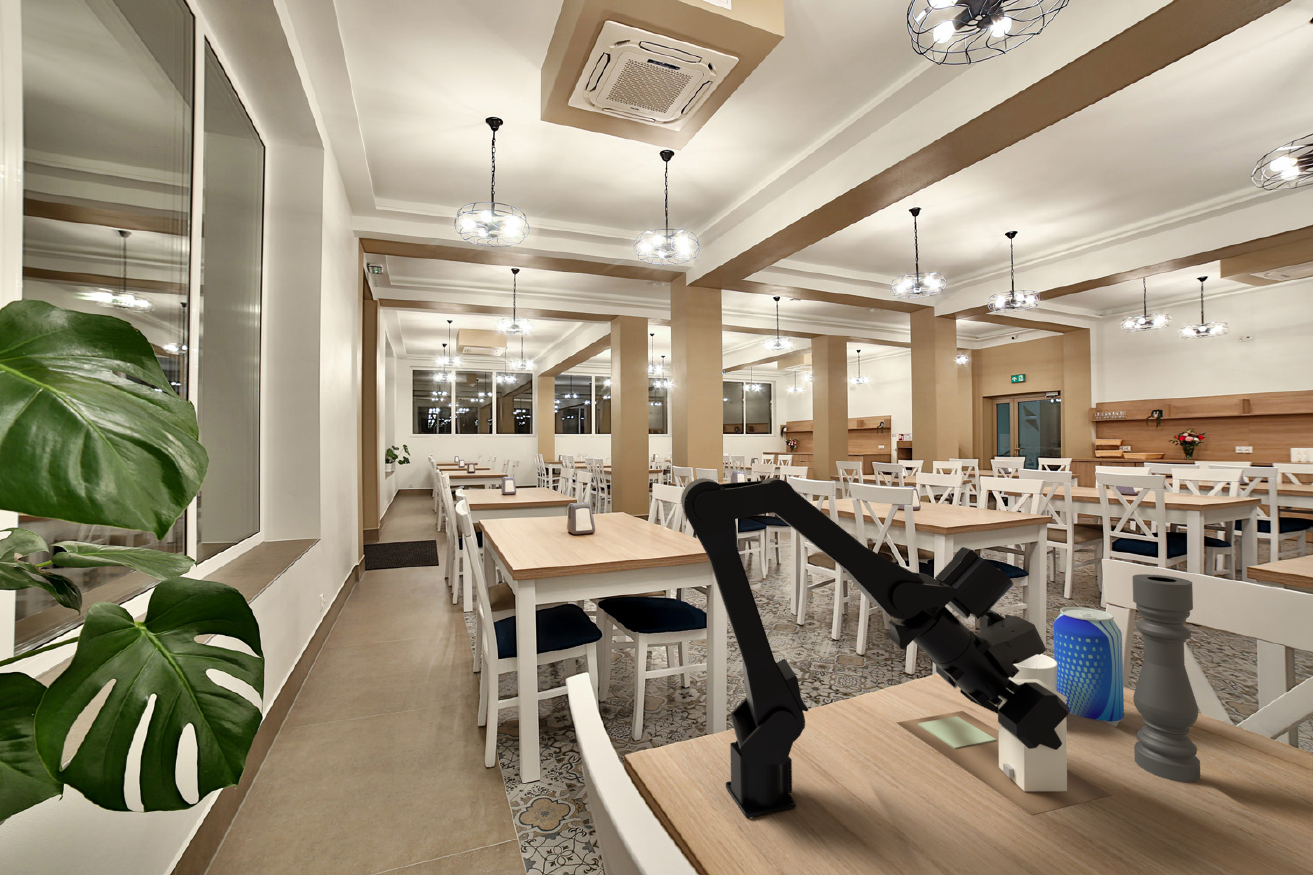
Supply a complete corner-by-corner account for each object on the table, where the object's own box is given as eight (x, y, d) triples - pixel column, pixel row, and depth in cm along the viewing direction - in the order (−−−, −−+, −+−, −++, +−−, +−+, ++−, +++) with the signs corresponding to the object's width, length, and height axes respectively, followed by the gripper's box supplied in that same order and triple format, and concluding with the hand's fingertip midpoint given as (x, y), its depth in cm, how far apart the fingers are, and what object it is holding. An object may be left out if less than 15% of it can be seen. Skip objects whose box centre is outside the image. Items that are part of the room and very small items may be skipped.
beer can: (1043, 711, 90) (1041, 609, 90) (1075, 700, 94) (1073, 602, 94) (1104, 735, 82) (1101, 624, 83) (1136, 723, 86) (1133, 616, 86)
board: (1032, 828, 63) (1030, 773, 63) (896, 732, 84) (895, 691, 84) (1112, 807, 66) (1111, 755, 67) (962, 720, 88) (961, 681, 88)
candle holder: (1214, 797, 68) (1208, 586, 68) (1154, 791, 69) (1149, 584, 70) (1178, 768, 74) (1173, 574, 74) (1123, 763, 75) (1119, 573, 76)
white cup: (998, 731, 84) (996, 662, 84) (995, 709, 91) (993, 645, 91) (1063, 743, 81) (1061, 672, 81) (1055, 719, 88) (1053, 653, 88)
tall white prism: (1019, 791, 67) (1018, 696, 67) (994, 767, 72) (993, 679, 72) (1072, 791, 67) (1071, 696, 67) (1043, 767, 72) (1042, 679, 72)
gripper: (1049, 620, 61) (1156, 724, 60) (956, 579, 79) (1038, 658, 79) (976, 696, 60) (1082, 800, 60) (900, 637, 79) (982, 716, 79)
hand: (1043, 734), depth 70 cm, fingers closed on tall white prism, 5 cm apart
